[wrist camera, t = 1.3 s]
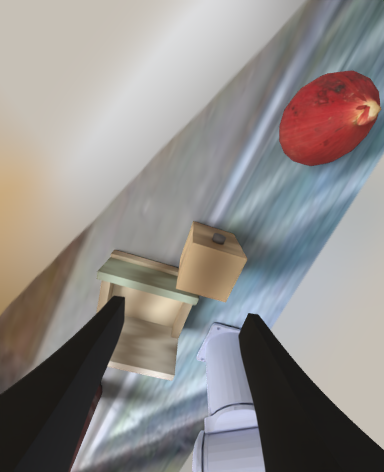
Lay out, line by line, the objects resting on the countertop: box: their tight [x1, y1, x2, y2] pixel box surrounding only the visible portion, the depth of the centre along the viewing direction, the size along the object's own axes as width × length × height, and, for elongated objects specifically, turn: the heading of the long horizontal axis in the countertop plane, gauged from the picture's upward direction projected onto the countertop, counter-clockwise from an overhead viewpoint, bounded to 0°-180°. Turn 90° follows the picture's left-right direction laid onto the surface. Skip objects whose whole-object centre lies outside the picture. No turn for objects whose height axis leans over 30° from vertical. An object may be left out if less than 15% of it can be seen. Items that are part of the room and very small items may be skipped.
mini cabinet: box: [176, 221, 247, 302], centre depth 19 cm, size 5×6×6 cm
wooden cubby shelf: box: [96, 250, 199, 381], centre depth 21 cm, size 11×10×7 cm
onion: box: [279, 71, 381, 166], centre depth 13 cm, size 6×6×8 cm
